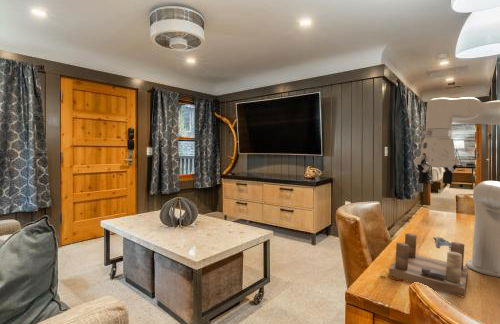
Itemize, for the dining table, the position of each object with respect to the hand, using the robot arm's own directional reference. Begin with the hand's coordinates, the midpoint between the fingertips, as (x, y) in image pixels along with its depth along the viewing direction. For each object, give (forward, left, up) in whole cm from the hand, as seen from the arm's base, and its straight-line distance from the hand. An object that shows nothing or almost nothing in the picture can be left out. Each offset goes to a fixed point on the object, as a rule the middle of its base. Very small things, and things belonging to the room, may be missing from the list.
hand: (435, 183), depth 99 cm
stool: (+5, +5, -30) cm, 31 cm away
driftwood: (-25, -21, -31) cm, 45 cm away
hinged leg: (+8, +12, -27) cm, 31 cm away
